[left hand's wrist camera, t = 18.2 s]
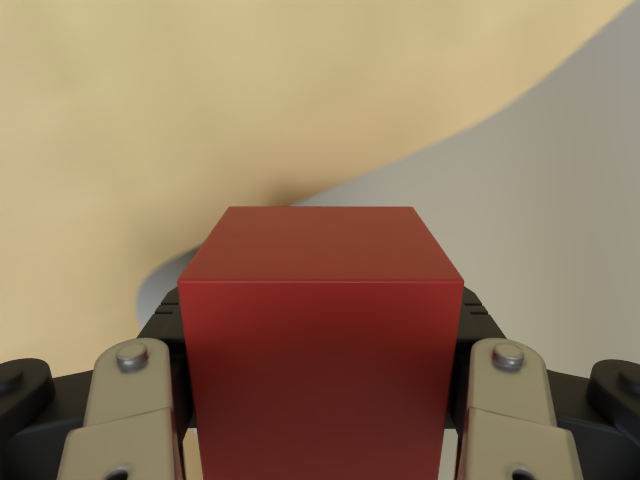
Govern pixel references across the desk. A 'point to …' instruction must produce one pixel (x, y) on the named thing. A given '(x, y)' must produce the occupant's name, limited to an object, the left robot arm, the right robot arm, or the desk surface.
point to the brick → (320, 344)
